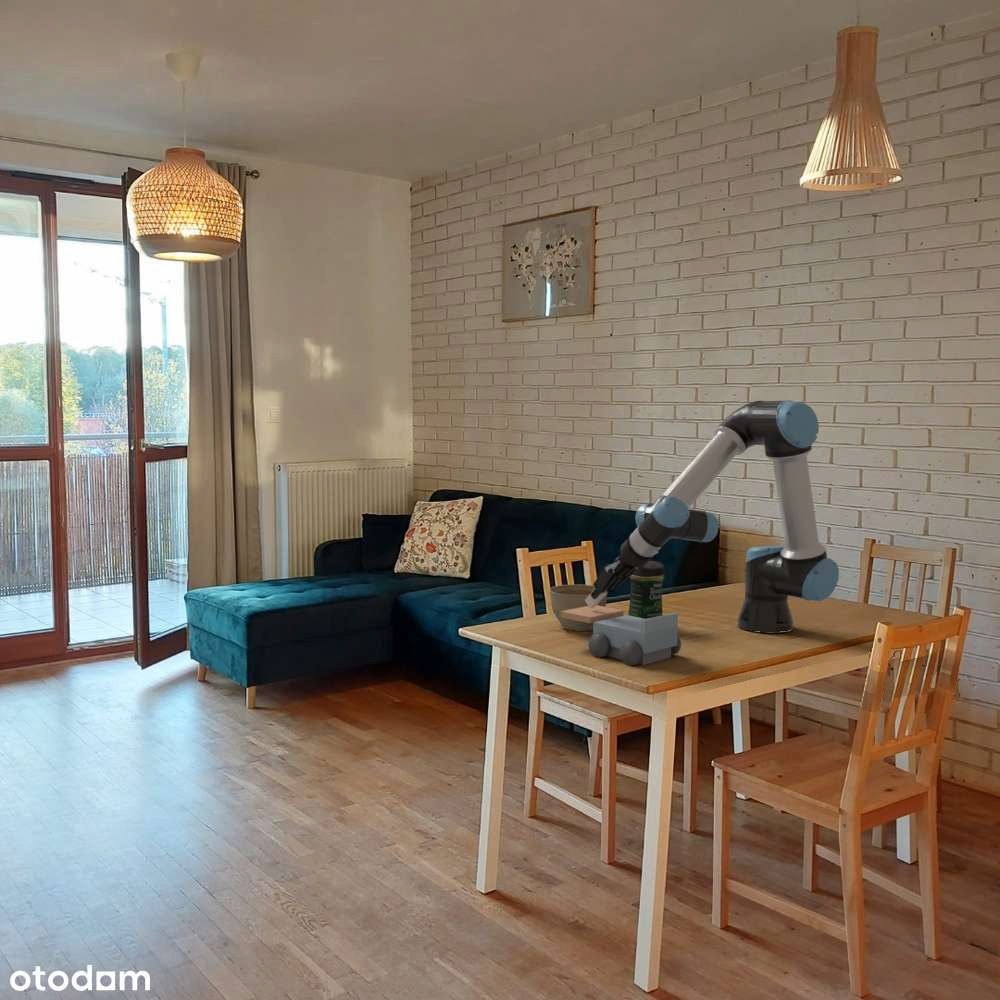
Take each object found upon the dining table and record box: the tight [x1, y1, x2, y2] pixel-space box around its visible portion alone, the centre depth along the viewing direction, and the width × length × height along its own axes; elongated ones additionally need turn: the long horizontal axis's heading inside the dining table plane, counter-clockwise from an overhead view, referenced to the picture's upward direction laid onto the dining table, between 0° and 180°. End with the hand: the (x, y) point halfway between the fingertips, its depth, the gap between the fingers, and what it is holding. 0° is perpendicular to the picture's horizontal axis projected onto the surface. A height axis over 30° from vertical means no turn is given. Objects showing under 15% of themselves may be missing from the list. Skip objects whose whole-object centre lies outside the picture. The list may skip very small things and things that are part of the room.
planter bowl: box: [548, 584, 609, 632], centre depth 280 cm, size 16×16×11 cm
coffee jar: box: [627, 560, 665, 619], centre depth 282 cm, size 10×8×19 cm
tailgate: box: [561, 605, 625, 623], centre depth 260 cm, size 2×13×10 cm
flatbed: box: [588, 612, 682, 667], centre depth 250 cm, size 16×17×11 cm
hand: (589, 603), depth 260 cm, fingers closed
